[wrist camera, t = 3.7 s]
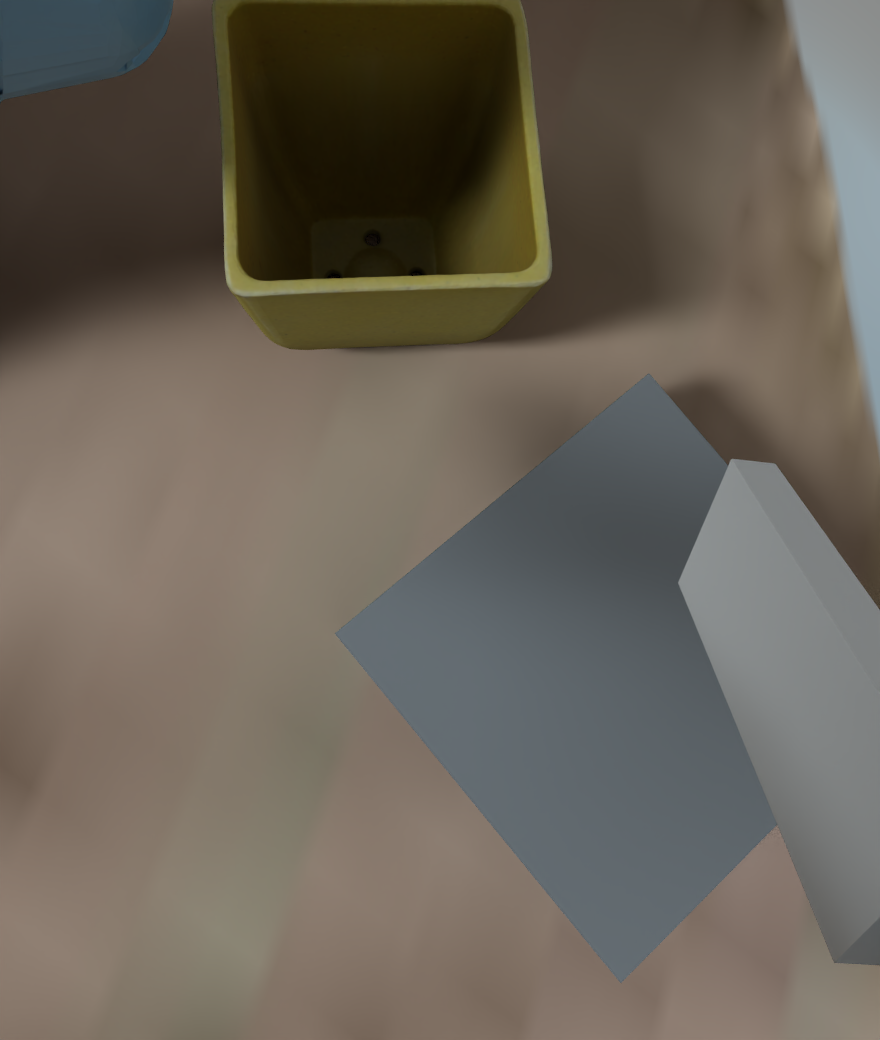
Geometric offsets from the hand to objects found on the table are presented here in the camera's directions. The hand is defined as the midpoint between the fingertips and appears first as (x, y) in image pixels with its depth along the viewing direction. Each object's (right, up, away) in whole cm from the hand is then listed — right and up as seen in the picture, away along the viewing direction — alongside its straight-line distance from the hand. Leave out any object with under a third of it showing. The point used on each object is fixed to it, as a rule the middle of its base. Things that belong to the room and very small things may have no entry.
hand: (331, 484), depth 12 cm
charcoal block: (+7, -6, +15) cm, 18 cm away
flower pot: (-1, +9, +17) cm, 19 cm away
